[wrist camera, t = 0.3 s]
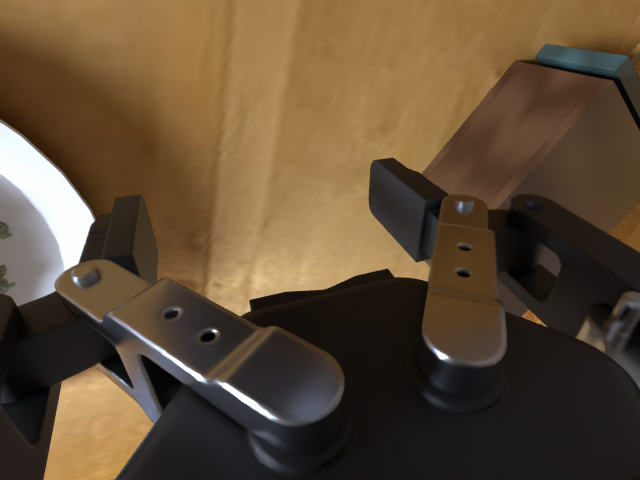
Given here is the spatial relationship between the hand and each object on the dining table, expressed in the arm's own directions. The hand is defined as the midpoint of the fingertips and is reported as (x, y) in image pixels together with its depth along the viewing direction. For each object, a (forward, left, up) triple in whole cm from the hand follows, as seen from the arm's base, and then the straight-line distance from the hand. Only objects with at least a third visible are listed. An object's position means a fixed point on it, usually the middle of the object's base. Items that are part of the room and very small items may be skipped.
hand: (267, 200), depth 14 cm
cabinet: (+11, +25, -17) cm, 32 cm away
